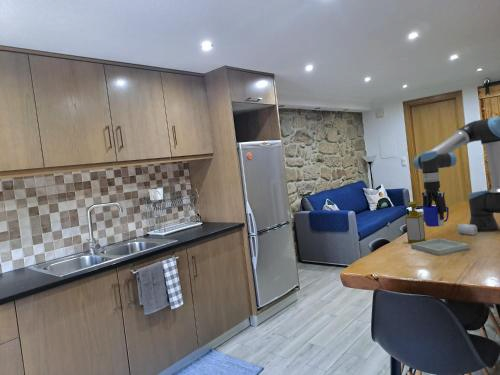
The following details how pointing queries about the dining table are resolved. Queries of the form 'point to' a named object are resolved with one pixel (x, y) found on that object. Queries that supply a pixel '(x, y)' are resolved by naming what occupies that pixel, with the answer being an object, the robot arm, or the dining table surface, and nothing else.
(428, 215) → the mug
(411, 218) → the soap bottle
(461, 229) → the white cylinder
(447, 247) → the tray
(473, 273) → the dining table surface
